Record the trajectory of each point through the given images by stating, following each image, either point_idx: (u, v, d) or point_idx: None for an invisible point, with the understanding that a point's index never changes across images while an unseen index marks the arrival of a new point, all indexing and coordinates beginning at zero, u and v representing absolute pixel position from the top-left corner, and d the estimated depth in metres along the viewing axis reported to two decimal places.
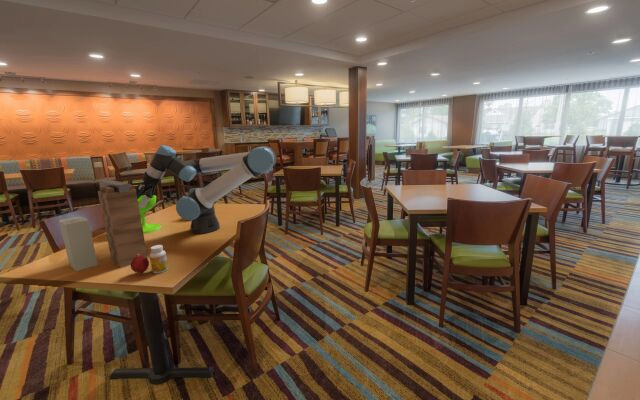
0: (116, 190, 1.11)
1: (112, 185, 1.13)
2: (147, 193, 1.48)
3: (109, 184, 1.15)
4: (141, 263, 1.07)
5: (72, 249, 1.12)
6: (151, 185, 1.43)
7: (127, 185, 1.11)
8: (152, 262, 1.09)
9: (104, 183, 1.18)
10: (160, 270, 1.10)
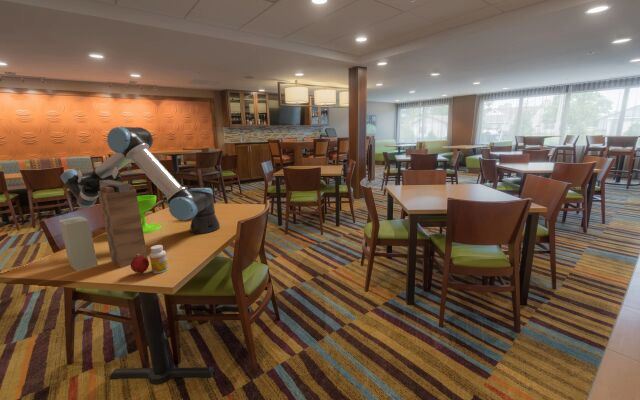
0: (116, 190, 1.11)
1: (112, 185, 1.13)
2: (109, 178, 1.41)
3: (109, 184, 1.15)
4: (141, 263, 1.07)
5: (72, 249, 1.12)
6: None
7: (127, 185, 1.11)
8: (152, 262, 1.09)
9: (104, 183, 1.18)
10: (160, 270, 1.10)
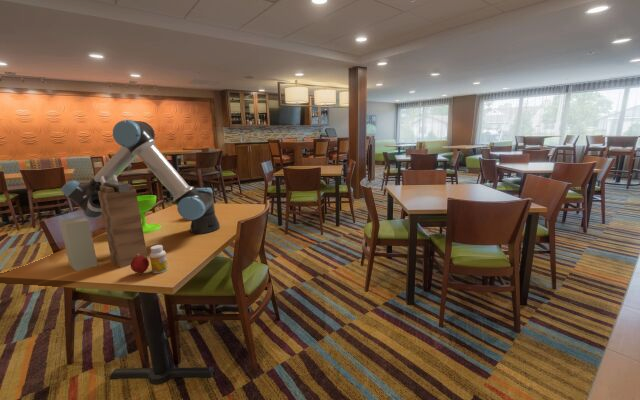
0: (116, 190, 1.11)
1: (112, 185, 1.13)
2: None
3: (109, 184, 1.15)
4: (141, 263, 1.07)
5: (72, 249, 1.12)
6: None
7: (127, 185, 1.11)
8: (152, 262, 1.09)
9: None
10: (160, 270, 1.10)
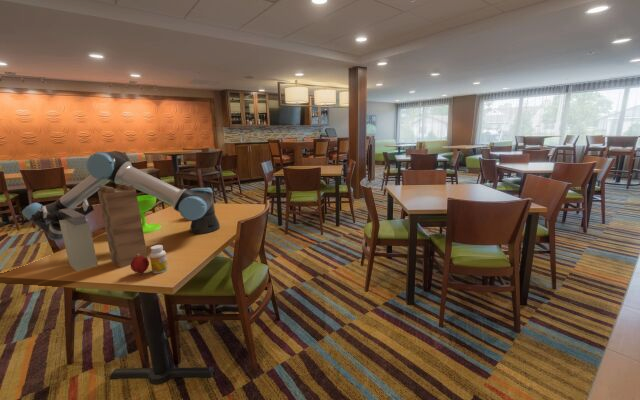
0: (72, 222, 1.10)
1: (69, 216, 1.12)
2: (80, 211, 1.28)
3: (66, 215, 1.14)
4: (141, 263, 1.07)
5: (72, 249, 1.12)
6: None
7: (83, 217, 1.10)
8: (152, 262, 1.09)
9: (63, 213, 1.17)
10: (160, 270, 1.10)
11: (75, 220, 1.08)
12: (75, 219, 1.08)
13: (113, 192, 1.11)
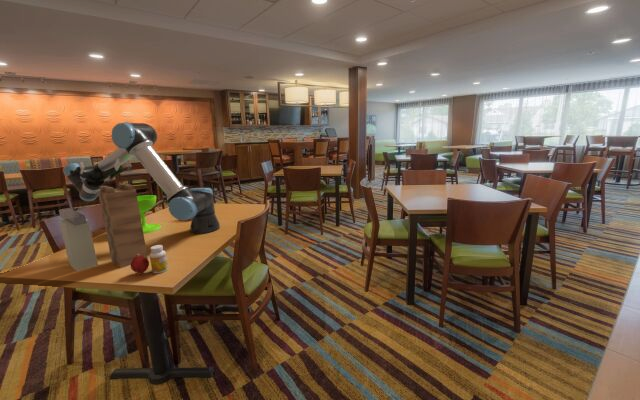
0: (72, 222, 1.10)
1: (69, 216, 1.12)
2: (111, 170, 1.40)
3: (66, 215, 1.14)
4: (141, 263, 1.07)
5: (72, 249, 1.12)
6: None
7: (83, 217, 1.10)
8: (152, 262, 1.09)
9: (63, 213, 1.17)
10: (160, 270, 1.10)
11: (75, 220, 1.08)
12: (75, 219, 1.08)
13: (113, 192, 1.11)
